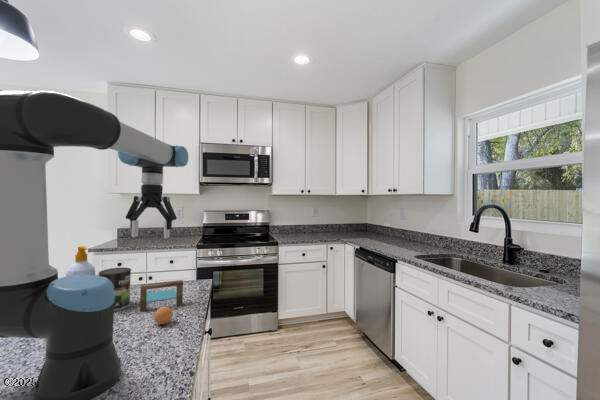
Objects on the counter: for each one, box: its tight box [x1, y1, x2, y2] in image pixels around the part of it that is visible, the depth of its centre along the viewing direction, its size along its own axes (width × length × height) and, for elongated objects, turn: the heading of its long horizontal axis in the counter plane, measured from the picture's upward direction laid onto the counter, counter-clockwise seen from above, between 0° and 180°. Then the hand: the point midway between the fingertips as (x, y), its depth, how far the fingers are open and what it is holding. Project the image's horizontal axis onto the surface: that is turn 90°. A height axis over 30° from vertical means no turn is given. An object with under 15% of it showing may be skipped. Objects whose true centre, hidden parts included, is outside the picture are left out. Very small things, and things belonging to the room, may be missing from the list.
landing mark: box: [146, 288, 177, 303], centre depth 116 cm, size 12×12×1 cm
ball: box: [154, 306, 174, 325], centre depth 90 cm, size 6×6×6 cm
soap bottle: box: [65, 245, 96, 277], centre depth 99 cm, size 9×9×24 cm
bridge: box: [139, 279, 184, 313], centre depth 104 cm, size 3×14×9 cm, turn 119°
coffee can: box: [98, 267, 132, 312], centre depth 103 cm, size 10×10×14 cm
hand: (150, 237), depth 107 cm, fingers open, 13 cm apart
